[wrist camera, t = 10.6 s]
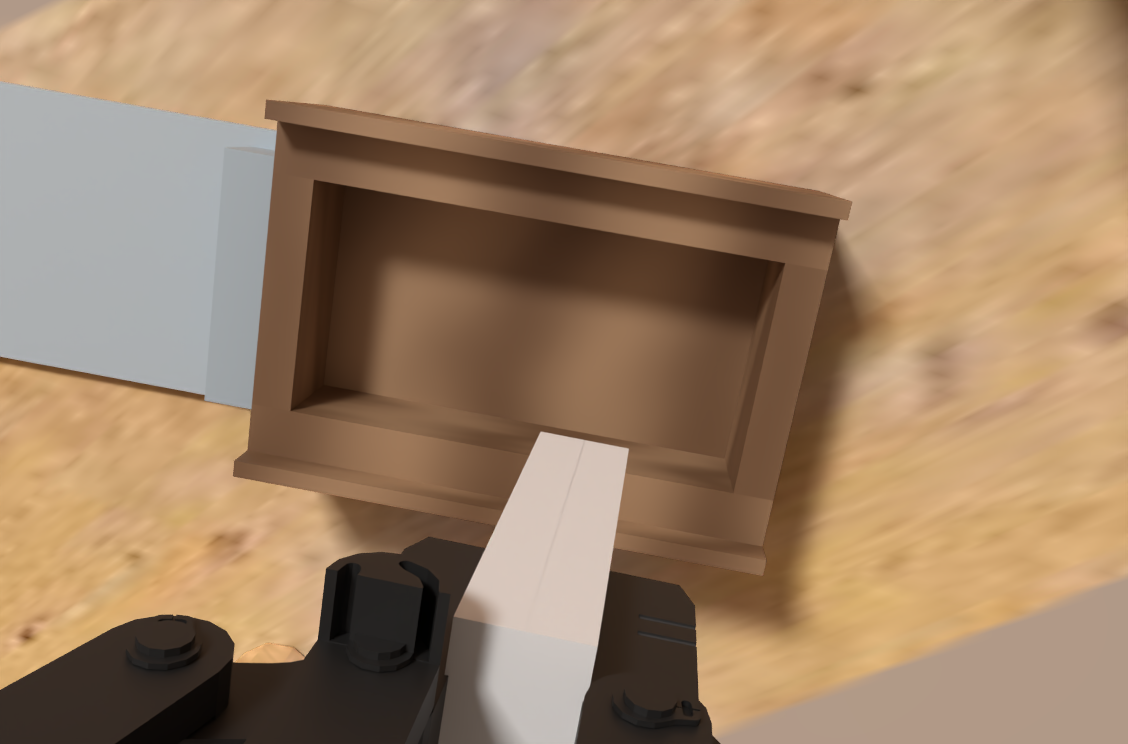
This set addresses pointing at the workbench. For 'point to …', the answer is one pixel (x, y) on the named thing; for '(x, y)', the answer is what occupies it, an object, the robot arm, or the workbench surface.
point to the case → (530, 325)
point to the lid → (132, 241)
